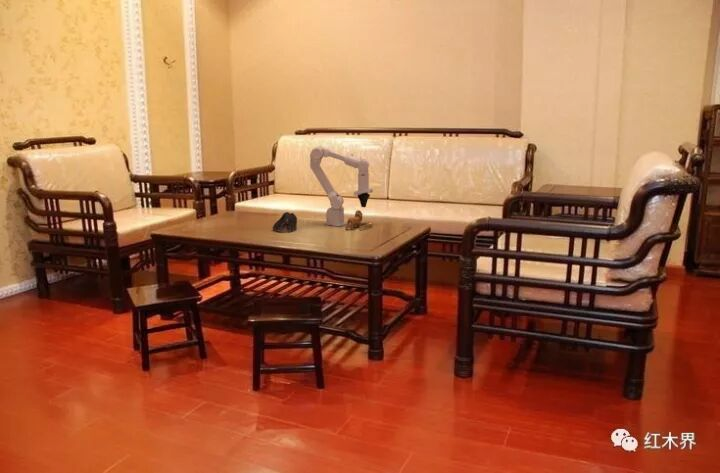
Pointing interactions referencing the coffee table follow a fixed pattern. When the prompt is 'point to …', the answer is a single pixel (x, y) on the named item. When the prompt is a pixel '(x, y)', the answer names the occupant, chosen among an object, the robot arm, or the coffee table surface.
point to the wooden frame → (362, 225)
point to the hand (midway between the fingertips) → (363, 207)
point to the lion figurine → (354, 220)
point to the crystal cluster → (286, 223)
